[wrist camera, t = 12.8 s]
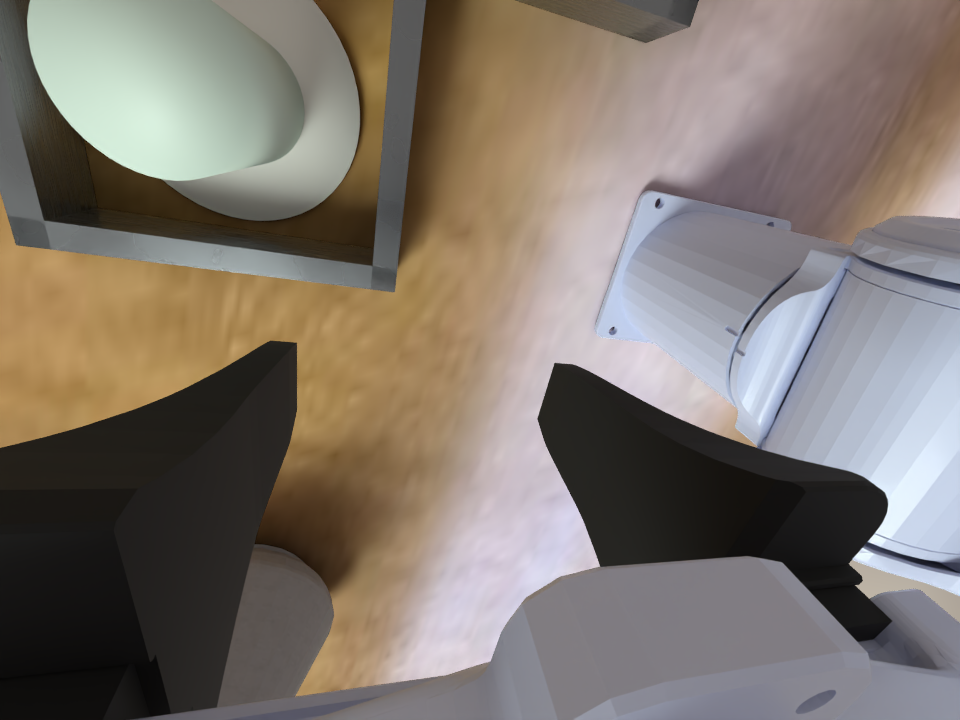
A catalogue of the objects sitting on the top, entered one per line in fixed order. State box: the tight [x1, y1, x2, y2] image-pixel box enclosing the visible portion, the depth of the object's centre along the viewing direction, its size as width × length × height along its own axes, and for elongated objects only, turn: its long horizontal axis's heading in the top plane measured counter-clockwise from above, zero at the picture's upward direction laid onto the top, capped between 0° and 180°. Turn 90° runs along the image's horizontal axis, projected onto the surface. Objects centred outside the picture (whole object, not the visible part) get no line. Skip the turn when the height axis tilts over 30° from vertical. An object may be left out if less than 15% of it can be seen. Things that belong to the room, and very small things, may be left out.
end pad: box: [162, 0, 360, 221], centre depth 16 cm, size 9×9×1 cm
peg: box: [27, 0, 305, 181], centre depth 13 cm, size 4×4×7 cm
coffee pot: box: [217, 544, 334, 708], centre depth 23 cm, size 21×12×15 cm, turn 79°
